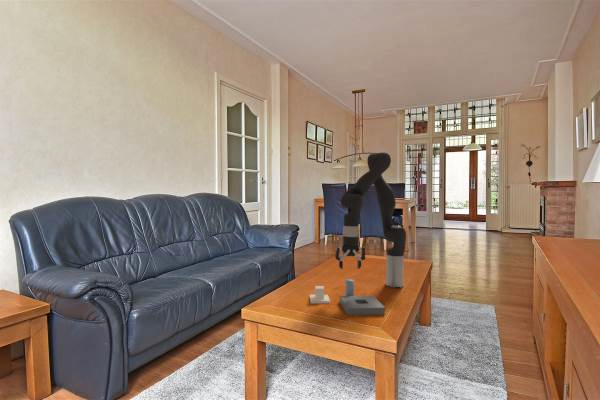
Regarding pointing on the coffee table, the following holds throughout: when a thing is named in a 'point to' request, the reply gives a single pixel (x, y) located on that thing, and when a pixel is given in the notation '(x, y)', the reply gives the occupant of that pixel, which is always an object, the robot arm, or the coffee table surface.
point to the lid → (319, 296)
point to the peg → (349, 287)
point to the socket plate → (362, 305)
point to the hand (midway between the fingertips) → (349, 268)
